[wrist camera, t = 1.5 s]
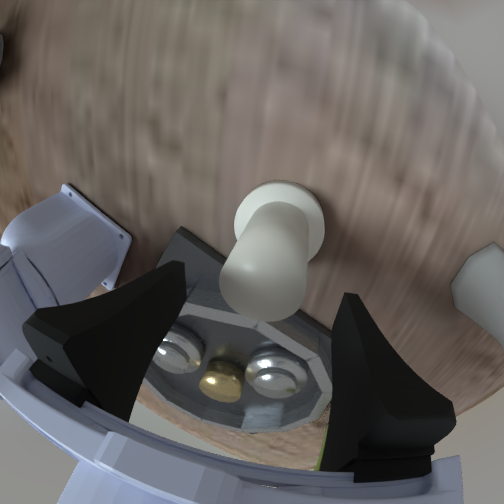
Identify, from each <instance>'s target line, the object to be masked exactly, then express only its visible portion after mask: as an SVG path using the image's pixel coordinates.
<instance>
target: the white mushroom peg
mask: <svg viewBox="0 0 504 504" xmlns="http://www.w3.org/2000/svg"><path fill="white" fill-rule="evenodd" d="M234 229H235V235H236V238H237V243H236V244H235V246H234V248H233V250H232V251H231V253H230V255H229V257H228V259H227V260H226V262H225V264H224V266H223V268H222V270H221V272H220V276H219V287H220V291H221V294H222V296H223V298H224V300H225V301H226V302H227V304H228V305H229V306H230V307H231V308H232V309H233V310H235V311H236V312H237V313H239V314H241V315H242V316H244V317H247V318H249V319H252V320H256V321H262V322H273V321H279V320H282V319H285V318H287V317H289V316H291V315H292V314H294V313H295V312H296V311H297V310H298V309H299V308H300V306H301V305H302V303H303V301H304V298H305V293H306V280H307V266H308V261H310V260H311V259H312V258H313V257H314V256H315V255H316V254H317V252H318V251H319V249H320V247H321V245H322V243H323V240H324V234H325V225H324V216H323V211H322V208H321V206H320V204H319V202H318V200H317V199H316V197H315V196H314V195H313V194H312V193H311V192H310V191H309V190H307V189H306V188H304V187H303V186H301V185H299V184H297V183H294V182H290V181H284V180H275V181H269V182H266V183H263V184H261V185H259V186H257V187H256V188H254V189H253V190H252V191H251V192H250V193H249V194H248V195H247V197H246V198H245V199H244V200H243V202H242V203H241V205H240V206H239V208H238V210H237V213H236V216H235V222H234Z"/></svg>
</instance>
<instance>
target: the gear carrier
mask: <svg viewBox="0 0 504 504" xmlns="http://www.w3.org/2000/svg"><path fill="white" fill-rule="evenodd" d="M172 260H175V261H180V262H185V277H186V291H187V298H186V301H185V303H184V305H183V308H182V310H181V312H180V314H179V316H178V317H177V319H176V321H175V322H174V324H173V326H172V327H171V329H170V330H169V332H168V333H167V335H166V337H165V338H164V340H163V341H162V343H161V344H160V346H159V348H158V349H157V351H156V353H155V355H154V357H153V359H152V361H151V363H150V365H149V367H148V370H147V372H146V374H145V377H144V379H143V383H144V384H145V385H146V386H147V387H148V388H149V389H150V390H151V391H152V392H153V393H154V394H155V395H157V396H158V397H159V398H160V399H161V400H163V402H165V403H167V404H168V405H170V406H172V407H174V408H176V409H177V410H179V411H181V412H183V413H185V414H187V415H188V416H190V417H192V418H194V419H196V420H198V421H201V422H203V423H207V424H211V425H214V426H218V427H222V428H226V429H230V430H234V431H239V432H242V431H243V432H246V433H250V434H255V433H262V432H284V431H288V430H291V429H294V428H296V427H299V426H302V425H304V424H307V423H309V422H312V421H314V420H317V419H318V418H319V417H320V416H321V414H322V413H323V411H324V410H325V408H326V407H327V405H328V404H329V403H331V401H332V360H331V339H332V332H331V331H330V330H329V329H327V328H326V327H324V326H323V325H321V324H320V323H318V322H317V321H315V320H314V319H312V318H311V317H309V316H308V315H306V314H305V313H304V312H302V311H301V310H299V309H298V310H297V311H296V312H295V313H294V314H292V315H291V316H289V317H287V318H285V319H282V320H279V321H273V322H262V321H256V320H252V319H249V318H247V317H244V316H242V315H241V314H239V313H237V312H236V311H235V310H233V309H232V308H231V307H230V306H229V305H228V304H227V302H226V301H225V300H224V298H223V296H222V294H221V291H220V287H219V276H220V272H221V270H222V268H223V266H224V264H225V262H226V260H227V259H226V258H225V257H223V256H222V255H221V254H219V253H218V252H216V251H215V250H214V249H212V248H211V247H209V246H208V245H207V244H205V243H204V242H202V241H201V240H200V239H198V238H197V237H196V236H194V235H193V234H191V233H190V232H189V231H187V230H186V229H185V228H183V227H182V226H181V227H180V228H179V229H178V230H177V231H176V232H175V234H174V235H173V237H172V239H171V241H170V242H169V244H168V246H167V248H166V250H165V251H164V253H163V255H162V257H161V259H160V261H159V262H158V264H157V266H156V268H158V267H160V266H162V265H164V264H165V263H167V262H170V261H172ZM156 268H155V269H156Z"/></svg>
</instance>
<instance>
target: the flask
mask: <svg viewBox="0 0 504 504" xmlns="http://www.w3.org/2000/svg"><path fill="white" fill-rule="evenodd" d="M450 285H451V290H452V295H453V300H454V306H455V308H457V309H458V310H459V311H460V312H462V313H463V314H465V315H466V316H468V317H469V318H470V319H472V320H473V321H475V322H476V323H477V324H479V325H480V326H481V327H482V328H483V329H485V330H486V331H487V332H488V333H490V334H491V335H492V336H493V337H494V338H495V339H497V341H498V342H499V343H500V345H501V346H502V347H503V348H504V250H503V249H502V248H501V247H499V246H498V245H497V244H496V243H494V242H493V243H492V244H490V245H488V246H487V247H485V248H483V249H482V250H480V251H478V252H477V253H475V254H473V255H472V256H470V257H469V258H468V259H467V261H466V262H465V264H464V265H463V267H462V268H461V270H460V271H459V273H458V274H457V276H456V277H455V279H454V280H453V282H452V283H451V284H450Z"/></svg>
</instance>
